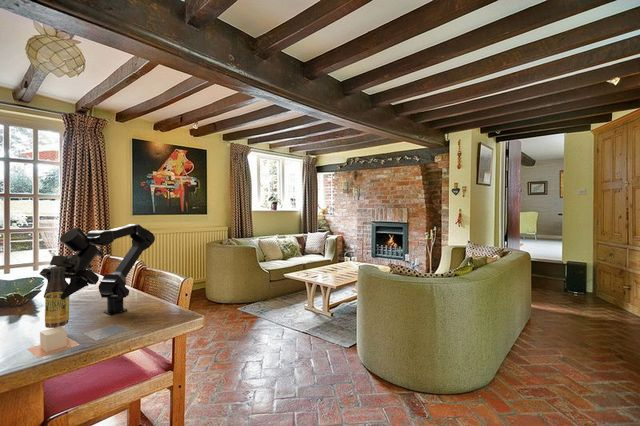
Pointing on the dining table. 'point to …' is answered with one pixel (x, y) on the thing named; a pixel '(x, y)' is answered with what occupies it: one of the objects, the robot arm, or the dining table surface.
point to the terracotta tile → (40, 352)
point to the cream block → (53, 339)
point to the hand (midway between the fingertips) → (53, 298)
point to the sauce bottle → (56, 299)
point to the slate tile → (105, 332)
